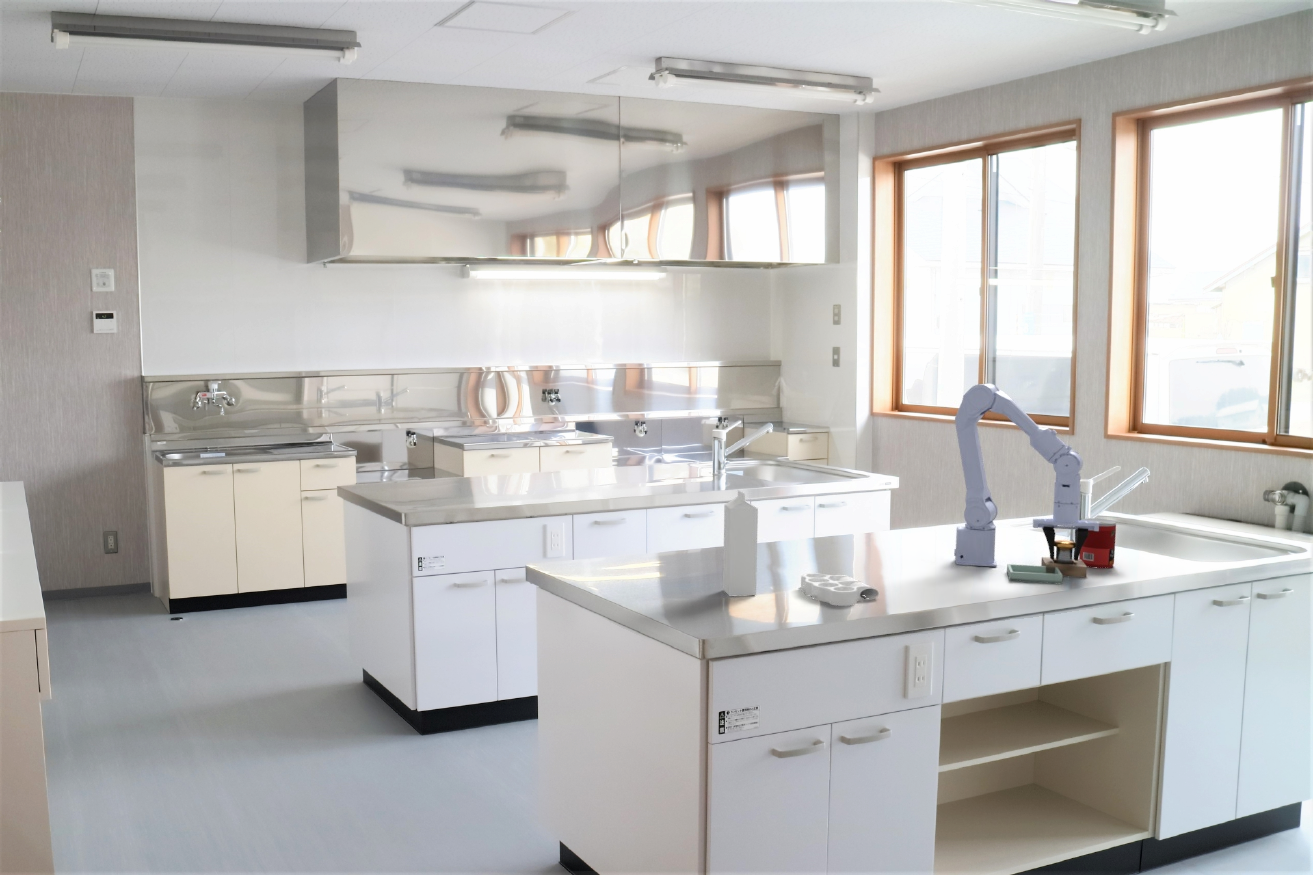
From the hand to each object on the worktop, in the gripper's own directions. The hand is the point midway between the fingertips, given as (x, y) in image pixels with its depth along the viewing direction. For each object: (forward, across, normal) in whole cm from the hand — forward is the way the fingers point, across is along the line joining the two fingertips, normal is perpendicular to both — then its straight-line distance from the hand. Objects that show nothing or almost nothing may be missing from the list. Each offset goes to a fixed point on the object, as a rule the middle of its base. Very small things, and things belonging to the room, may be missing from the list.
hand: (1063, 559), depth 257 cm
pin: (+3, 0, 0) cm, 3 cm away
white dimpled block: (+4, -51, -38) cm, 64 cm away
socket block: (+3, 0, 0) cm, 3 cm away
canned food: (+3, +9, +11) cm, 15 cm away
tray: (+3, -8, -8) cm, 12 cm away
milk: (+3, -71, -42) cm, 83 cm away
